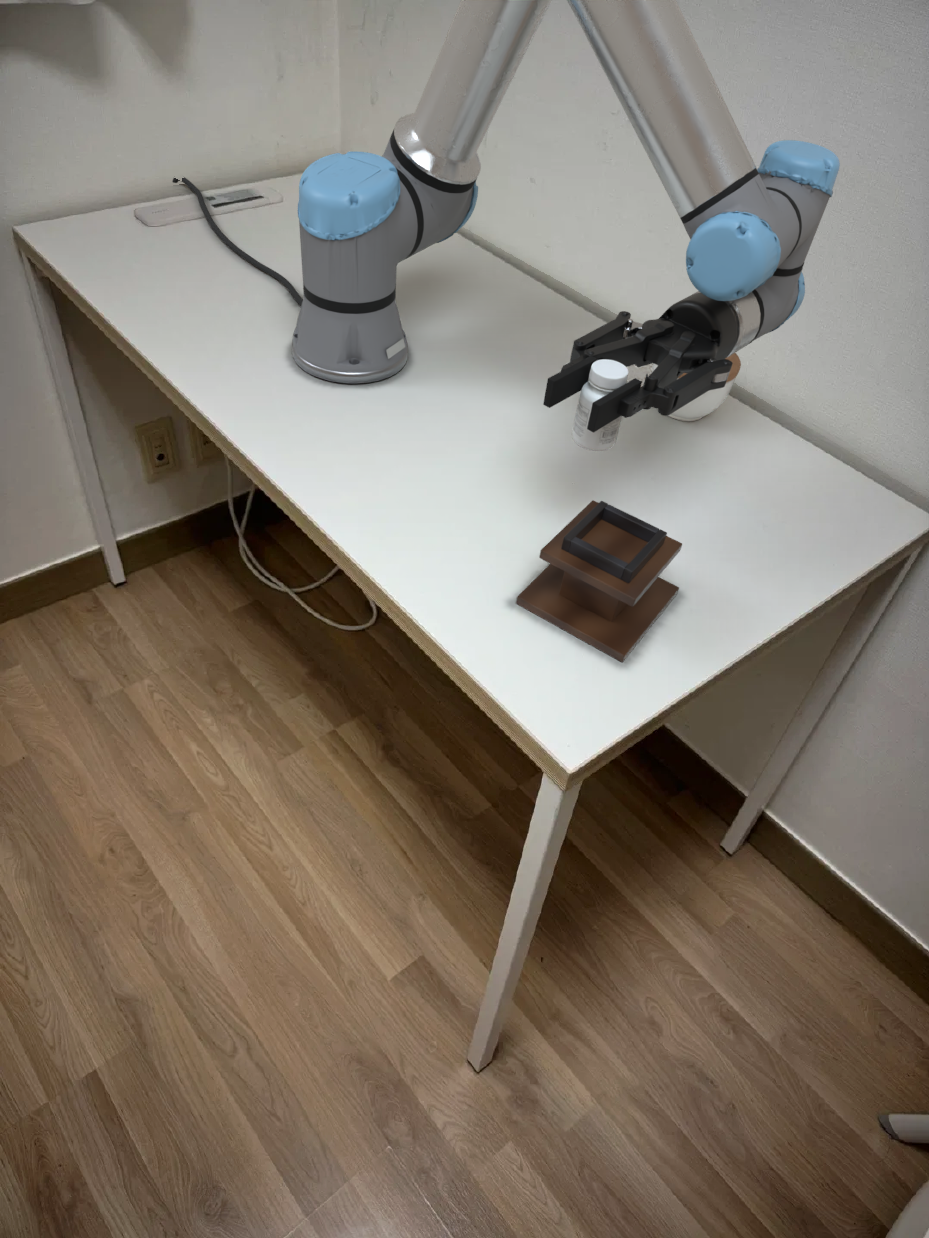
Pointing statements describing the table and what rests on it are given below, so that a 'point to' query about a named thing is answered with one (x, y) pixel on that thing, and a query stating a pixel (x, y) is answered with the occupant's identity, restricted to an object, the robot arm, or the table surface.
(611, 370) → the pill bottle
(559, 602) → the stand
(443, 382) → the table surface
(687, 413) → the trinket box
